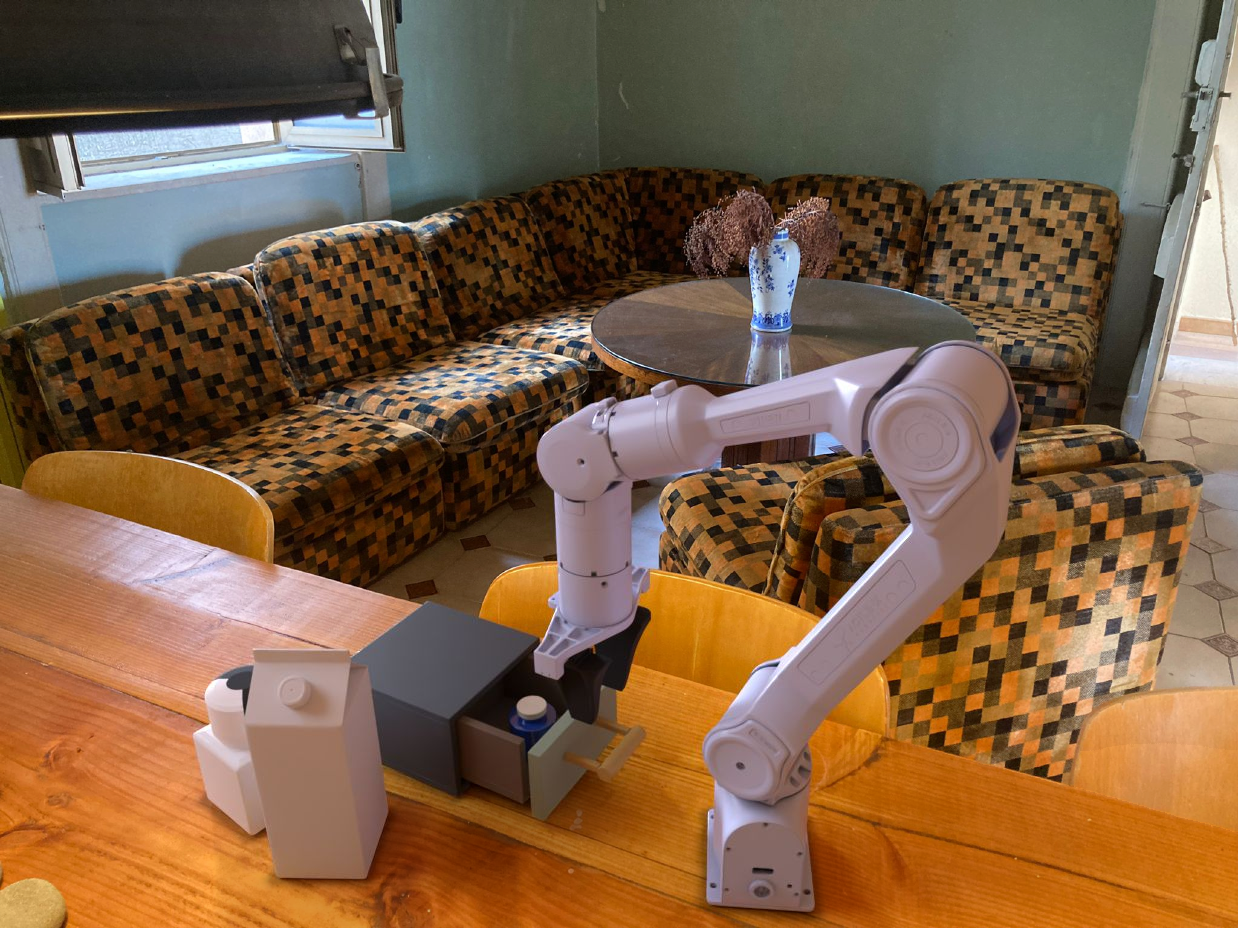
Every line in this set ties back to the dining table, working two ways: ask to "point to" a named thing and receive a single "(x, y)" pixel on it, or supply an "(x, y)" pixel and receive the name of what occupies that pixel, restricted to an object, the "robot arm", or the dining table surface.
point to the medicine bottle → (229, 750)
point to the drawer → (554, 757)
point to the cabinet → (435, 686)
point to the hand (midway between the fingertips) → (598, 702)
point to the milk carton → (316, 761)
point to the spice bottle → (531, 720)
